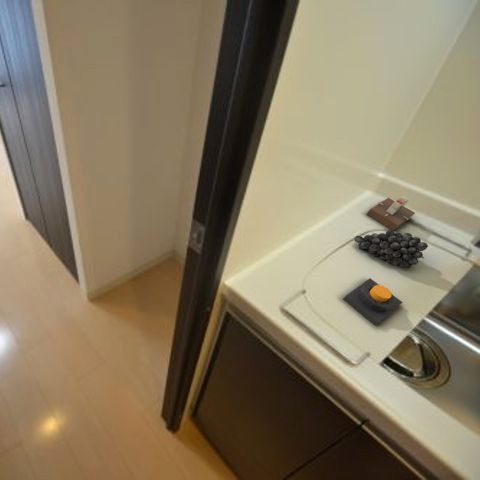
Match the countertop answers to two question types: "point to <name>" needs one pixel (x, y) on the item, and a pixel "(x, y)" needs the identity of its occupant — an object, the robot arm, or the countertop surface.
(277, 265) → the countertop surface
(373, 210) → the lock plate
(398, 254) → the fruit
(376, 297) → the bell button
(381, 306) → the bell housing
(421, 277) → the countertop surface
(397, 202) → the lock knob
